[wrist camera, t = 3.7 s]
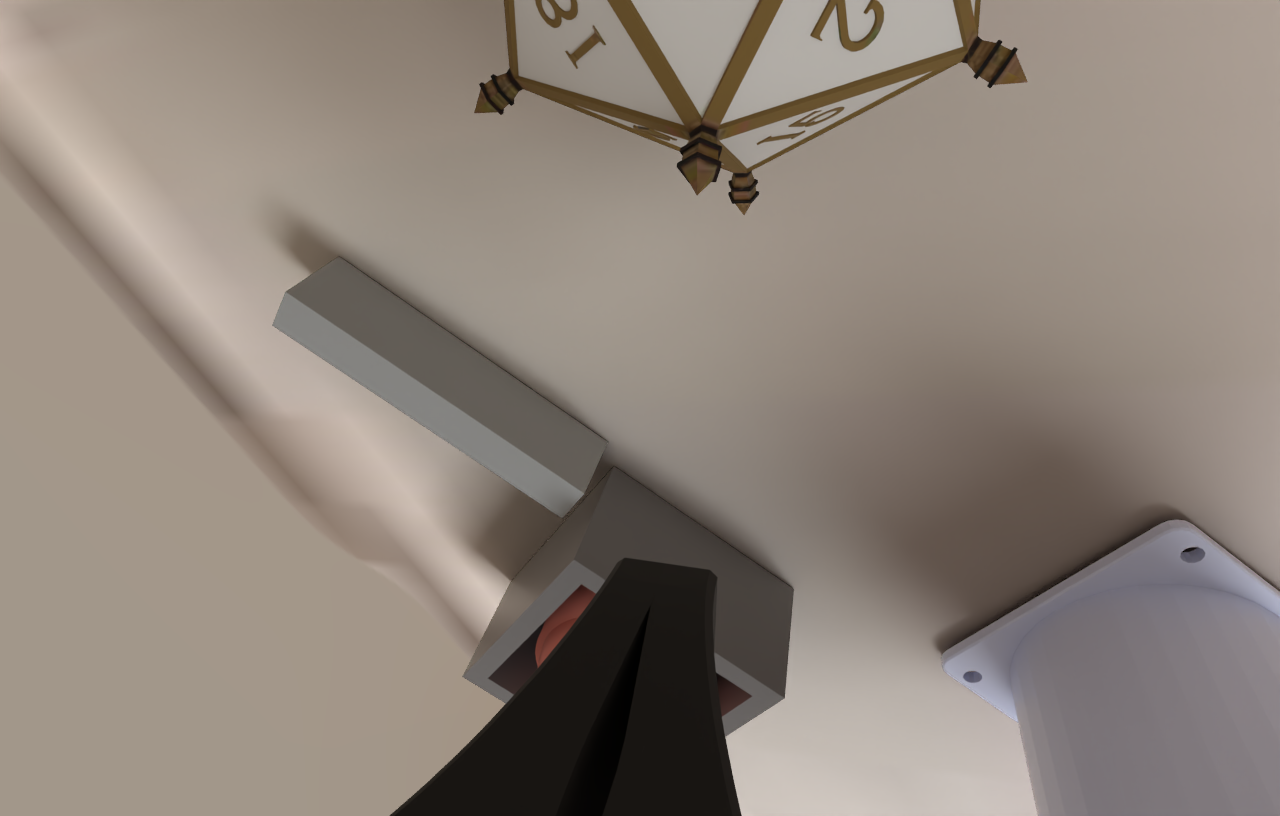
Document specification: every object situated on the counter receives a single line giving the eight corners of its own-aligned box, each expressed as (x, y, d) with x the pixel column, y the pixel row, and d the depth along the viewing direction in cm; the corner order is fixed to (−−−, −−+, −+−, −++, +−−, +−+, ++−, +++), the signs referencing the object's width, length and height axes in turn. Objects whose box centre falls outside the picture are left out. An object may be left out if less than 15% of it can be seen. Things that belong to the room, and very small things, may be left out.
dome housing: (793, 589, 23) (784, 698, 20) (669, 683, 27) (644, 788, 24) (613, 465, 22) (573, 559, 19) (510, 582, 26) (462, 676, 23)
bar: (607, 442, 22) (584, 493, 20) (587, 466, 23) (562, 518, 21) (338, 256, 21) (285, 292, 19) (325, 287, 21) (272, 325, 19)
